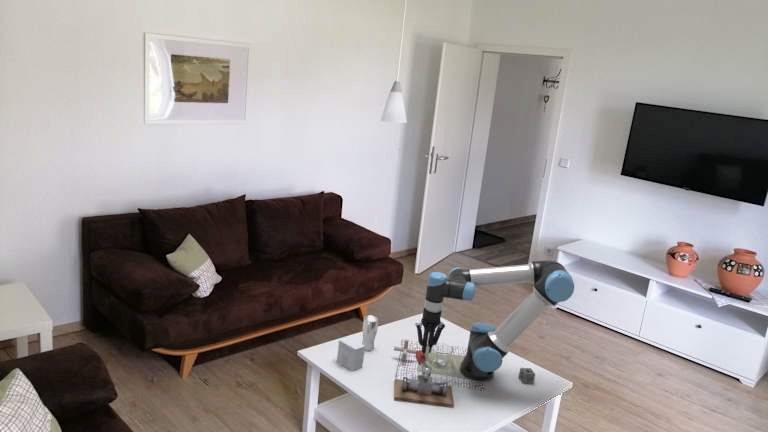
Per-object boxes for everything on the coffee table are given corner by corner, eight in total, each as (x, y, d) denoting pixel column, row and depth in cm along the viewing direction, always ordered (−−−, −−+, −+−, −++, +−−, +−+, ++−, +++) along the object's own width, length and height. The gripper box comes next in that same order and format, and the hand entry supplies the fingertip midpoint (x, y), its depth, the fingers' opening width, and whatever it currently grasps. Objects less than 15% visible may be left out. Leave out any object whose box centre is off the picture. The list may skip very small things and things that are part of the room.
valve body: (444, 391, 256) (447, 374, 254) (445, 398, 251) (448, 381, 249) (401, 386, 256) (404, 368, 254) (401, 393, 251) (404, 375, 249)
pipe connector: (415, 356, 284) (418, 336, 281) (413, 367, 275) (417, 346, 272) (393, 352, 285) (396, 333, 282) (391, 363, 275) (394, 343, 273)
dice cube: (522, 383, 272) (524, 373, 271) (518, 377, 277) (520, 368, 276) (533, 384, 273) (535, 374, 272) (528, 378, 278) (530, 368, 277)
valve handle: (422, 357, 265) (423, 350, 264) (431, 376, 250) (432, 370, 249) (414, 356, 264) (415, 350, 263) (423, 376, 249) (424, 370, 248)
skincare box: (363, 367, 269) (365, 345, 266) (352, 371, 264) (355, 349, 261) (346, 357, 276) (349, 336, 273) (336, 361, 271) (338, 339, 268)
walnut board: (450, 388, 260) (451, 385, 260) (453, 407, 247) (453, 404, 247) (394, 381, 260) (394, 378, 260) (394, 400, 247) (394, 396, 246)
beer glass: (360, 343, 290) (364, 314, 286) (375, 345, 290) (379, 316, 286) (359, 350, 283) (363, 320, 279) (374, 352, 283) (378, 322, 279)
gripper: (443, 304, 261) (435, 354, 267) (415, 305, 257) (407, 355, 263) (450, 312, 254) (442, 363, 260) (421, 313, 250) (413, 364, 256)
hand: (424, 359), depth 262 cm, fingers closed
